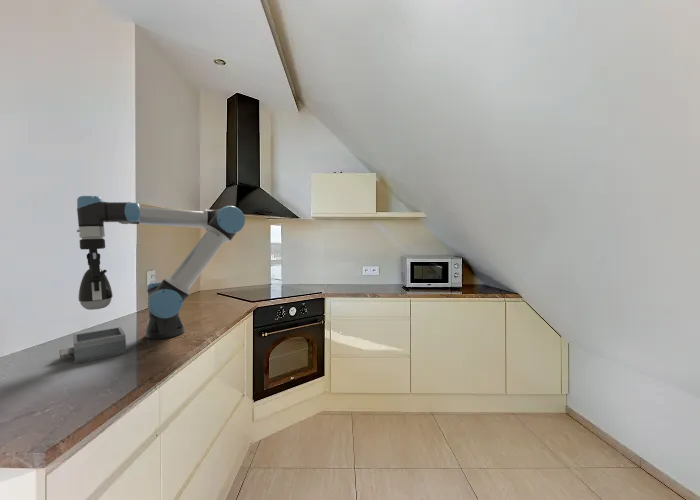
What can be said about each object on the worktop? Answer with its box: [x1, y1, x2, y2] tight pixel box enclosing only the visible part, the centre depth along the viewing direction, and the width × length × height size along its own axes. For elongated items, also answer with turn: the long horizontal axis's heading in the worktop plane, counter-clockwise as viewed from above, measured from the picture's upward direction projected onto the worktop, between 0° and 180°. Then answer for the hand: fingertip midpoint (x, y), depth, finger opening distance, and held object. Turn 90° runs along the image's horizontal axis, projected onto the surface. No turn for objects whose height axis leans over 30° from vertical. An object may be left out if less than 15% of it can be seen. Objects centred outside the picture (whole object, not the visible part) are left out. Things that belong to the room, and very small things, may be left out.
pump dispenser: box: [78, 268, 114, 311], centre depth 128 cm, size 10×10×15 cm
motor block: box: [59, 326, 128, 364], centre depth 128 cm, size 19×15×7 cm
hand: (96, 298), depth 128 cm, fingers closed on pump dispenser, 10 cm apart
